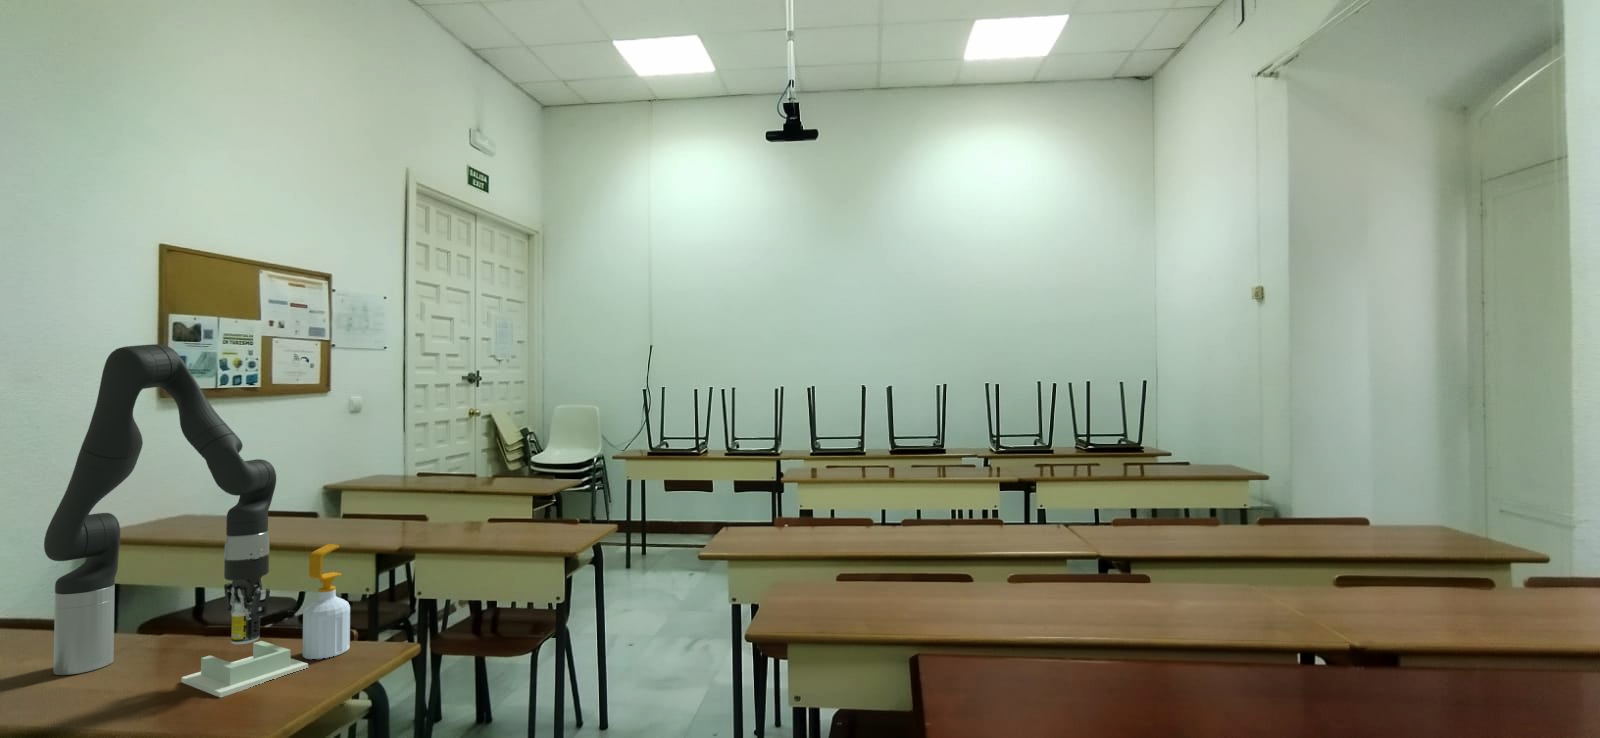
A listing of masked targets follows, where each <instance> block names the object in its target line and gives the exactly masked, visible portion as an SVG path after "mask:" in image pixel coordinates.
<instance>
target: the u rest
mask: <svg viewBox="0 0 1600 738" xmlns="http://www.w3.org/2000/svg"><path fill="white" fill-rule="evenodd" d="M252 643H253V644H252V645H253V650H252V651H253V652H252V654H253V655H252V656H248V657H245V658H241V659H238V660H235V661H231V662H230V661H227V660H225V659H222V658H218V657H215V656H213V655H207V656H204V657H201V658H200V671H198V672H194V673H191V674H188V675H184V676H182V677H181V681H180V682H181V683H182V682H183V683H182V684H185V685H186V686H187V685H188V686H190V687H192V688H194V689H198V690H200V691H202V692H204V693H208V694H210V695H213V696H215V697H218V698H223V697H227V696H229V695H233V694H235V693H239V692H241V691H244V690H247V689H251V688H254V687H256V686H255V685H257V686H259V685H258V684H260V685H263V684H265V683H264V682H266V681H269V680H272V679H275V680H277V679H276V678H278V677H281V676H284V675H287V674H290V673H293V672H296V671H299V670H302V671H304V670H303V669H305V670H307V669H306V668H308V669H309V663H307V662H303V661H301V660H297V659H294V658H291V655H292V653H291V652H292V650H291V649H289V648H287V647H282V646H280V645H276V644H273V643H270V642H266V641H263V640H260V641H259V640H258V641H254V642H252ZM299 672H300V671H299ZM296 673H297V672H296ZM293 674H294V673H293ZM290 675H291V674H290ZM287 676H288V675H287ZM284 677H285V676H284ZM281 678H282V677H281ZM278 679H279V678H278ZM272 681H273V680H272ZM269 682H270V681H269ZM262 683H263V684H262ZM266 683H267V682H266ZM253 686H254V687H253ZM250 687H251V688H250Z"/></svg>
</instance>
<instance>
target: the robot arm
mask: <svg viewBox="0 0 1600 738" xmlns="http://www.w3.org/2000/svg"><path fill="white" fill-rule="evenodd" d="M184 361H185V360H183V358H182V357H181V356H180V354H178V352H177V351H175V350H174V349H173V348H172V347H170V346H168V345H166V344H157V343H155V344H141V345H139V344H138V345H128V346H127V345H126V346H121V347H118V348H116V349H114V350H113V351H111V352H110V354H109V355H108V357H107V358H106V361H105V363H104V365H103V371H102V374H101V378H100V384H99V390H98V395H97V399H96V403H95V407H94V410H93V413H92V417H91V420H90V422H89V426H88V429H87V432H86V435H85V437H84V439H83V441H82V444H81V447H80V450H79V452H78V456H77V459H76V462H75V466H74V468H73V472H72V474H71V477H70V480H69V482H68V486H67V487H66V489H65V491H64V494H63V496H62V498H61V500H60V503H59V504H58V506H57V509H56V511H55V512H54V514H53V516H52V518H51V520H50V523H49V524H48V527H47V529H46V531H45V536H44V542H43V549H44V553H45V556H47V558H48V559H50V560H51V561H55V562H66V561H73V560H80V559H85V561H84V562H83V563H82V564H80V566H78V567H77V568H75V569H74V570H72V571H70V572H68V573H66V574H64V575H62V576H60V577H59V578H58V579H56V581H55V584H54V622H53V624H54V625H53V626H54V627H53V628H54V632H53V633H54V634H53V635H54V636H53V667H52V668H53V671H52V672H53V675H56V676H67V675H68V676H69V675H76V674H77V675H78V674H83V673H87V672H91V671H95V670H98V669H100V668H102V669H103V668H104V667H106V666H109V665H110V664H112V663H113V662H114V653H115V652H114V648H115V647H114V645H115V588H116V587H115V586H116V585H115V584H116V575H117V573H118V567H119V553H120V546H121V527H120V526H121V525H120V522H119V521H118V518H117V516H115V515H114V514H112V513H110V512H99V513H92V514H90V513H91V511H92V509H94V508H95V506H96V505H97V504H98V503H99V502H100V501H102V499H103V498H105V497H106V496H107V495H108V494H110V493H111V492H112V491H114V490H115V489H116V488H117V487H118V486H119V485H121V483H123V482H124V481H125V480H126V479H127V478H128V477H129V476H131V474H132V472H134V470H135V467H136V465H137V462H138V460H139V457H140V454H141V451H142V448H143V445H144V443H143V442H144V441H143V436H142V433H141V431H140V428H139V427H138V425H137V423H136V421H135V418H134V408H135V405H136V402H137V399H138V397H139V395H140V393H141V392H142V391H143V390H144V389H152V388H161V389H163V391H165V392H166V393H167V394H168V395H170V397H171V398H172V399H173V400H174V402H175V403H176V406H177V409H178V415H179V416H178V417H179V425H180V429H181V432H182V434H183V436H184V438H185V439H186V440H187V442H188V443H189V444H190V445H191V447H193V448H194V450H196V452H197V453H198V454H199V455H200V456H201V457H202V458H203V459H204V460H205V463H206V465H207V468H208V469H209V471H210V473H211V475H212V478H213V480H214V482H215V484H216V485H217V486H218V487H219V488H220V489H221V490H222V491H224V492H225V493H227V494H228V495H231V496H239V499H238V502H237V503H236V504H235V505H234V506H232V507H231V508H229V510H228V511H227V514H226V523H225V524H226V531H225V532H226V535H225V542H224V561H223V562H224V564H223V565H224V566H223V567H224V571H223V573H224V575H223V577H224V579H225V580H226V581H231V582H229V583H225V584H224V585H223V587H224V588H223V589H224V597H225V607H226V608H225V609H226V611H227V612H228V613H230V615H231V617H232V613H233V612H234V611H236V610H234V604H235V602H241V607H242V610H245V614H246V619H247V620H246V637H247V638H252V637H255V636H258V635H259V634H260V635H261V633H260V632H261V631H260V630H261V618H262V617H265V616H267V615H268V614H267V613H268V608H269V601H270V594H271V590H270V588H263V585H262V580H261V579H262V578H263V577H264V576H266V575H268V574H269V573H270V536H269V509H270V506H271V503H272V501H273V496H274V493H275V490H276V484H277V473H276V469H275V467H274V466H273V465H272V463H271V462H269V461H267V460H265V459H262V458H261V459H259V458H258V459H257V458H256V459H250V460H245V459H243V458H242V457H241V455H240V452H241V451H242V450H243V447H244V445H243V442H242V439H240V438H239V436H238V435H237V434H236V433H235V432H234V431H233V430H232V429H231V428H230V427H229V425H228V424H227V423H226V421H224V420H223V419H222V418H221V416H219V414H218V413H217V412H216V410H215V409H214V408H213V406H212V405H211V404H210V402H209V400H208V398H207V397H206V395H205V393H204V392H203V391H202V389H201V387H200V385H199V384H198V381H196V379H195V377H194V376H193V374H192V373H191V371H190V369H189V368H188V366H187V364H186V363H185V362H184ZM251 602H253V603H252V604H250V605H248V604H247V603H251ZM251 608H252V609H251ZM250 609H251V610H250Z"/></svg>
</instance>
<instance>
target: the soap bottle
mask: <svg viewBox="0 0 1600 738" xmlns="http://www.w3.org/2000/svg"><path fill="white" fill-rule="evenodd" d="M339 548H340V546H339V544H334V543H328V544H325V545H323V546H321V547H320V548H317V549H316V550H314V551H312V552H311V553H310V555H309V558H308V559H309V564H308V569H309V571H308V574H309V577H310V578H312V579H317V580H319V581H320V583H322V587H319V588H318V598H317V599H316V600H314V601H313V602H311V603H310V604H309V605H307V606H306V607H305V608H304V610H303V614H302V657H303V658H304V659H307V660H312V659H316V660H324V659H323V658H325V659H330V658H333V656H334V657H337V656H339V655H342V654H344V653H346V652H347V651H348V650H350V648H351V647H350V645H351V605H350V604H349V601H347V600H345V599H344V598H341V597H338V596H337V594H336V591H337V589H336V588H337V587H336V586H335V585H333V584H332V582H334V581H335V578H337V577H341V576H342V573H340V572H336V571H335V572H334V571H332V572H326V573H322V571H323V567H322V566H323V558H324V557H325V556H326V555H327V554H330V553H331V552H333V551H335V550H336V549H339ZM329 657H330V658H329Z"/></svg>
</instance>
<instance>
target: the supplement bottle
mask: <svg viewBox="0 0 1600 738" xmlns="http://www.w3.org/2000/svg"><path fill="white" fill-rule="evenodd" d="M252 603H253V602H251V603H247V604H248V605H250V604H252ZM251 609H252V608H251ZM251 609H250V610H251ZM234 610H236V611H234V612H233V613H232V616H231V637H230V639H231V640H230V642H231V644H233V645H245V644H250V643H255V642H257V641H259V639H260V638H261V636H260V635H261V633H260V634H259V635H258V636H255V637H252V638H247V637H246V620H247V619H246V614H245V610H242V607H241V602H235V604H234Z"/></svg>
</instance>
